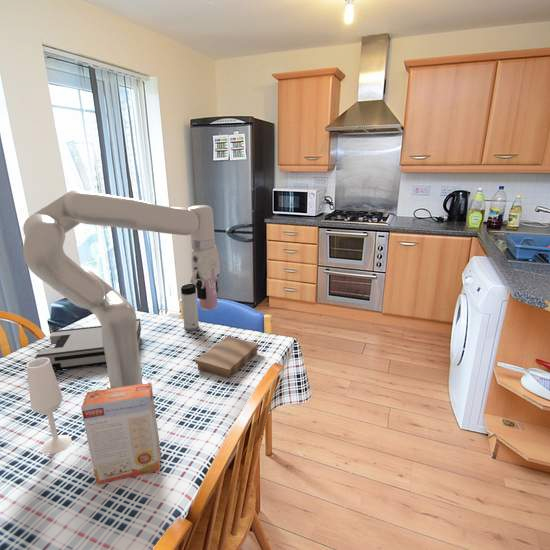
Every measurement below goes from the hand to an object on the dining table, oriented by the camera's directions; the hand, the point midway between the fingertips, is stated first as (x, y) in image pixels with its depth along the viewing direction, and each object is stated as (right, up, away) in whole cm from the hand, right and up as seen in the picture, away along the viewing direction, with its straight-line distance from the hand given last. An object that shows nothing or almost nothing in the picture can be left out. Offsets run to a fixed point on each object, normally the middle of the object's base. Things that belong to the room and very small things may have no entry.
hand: (208, 294), depth 124 cm
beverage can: (0, -5, +2) cm, 5 cm away
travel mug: (-14, -17, +35) cm, 41 cm away
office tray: (-46, -24, +14) cm, 53 cm away
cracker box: (-12, -39, -37) cm, 56 cm away
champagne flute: (-34, -37, -30) cm, 58 cm away
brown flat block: (+6, -25, +8) cm, 27 cm away
